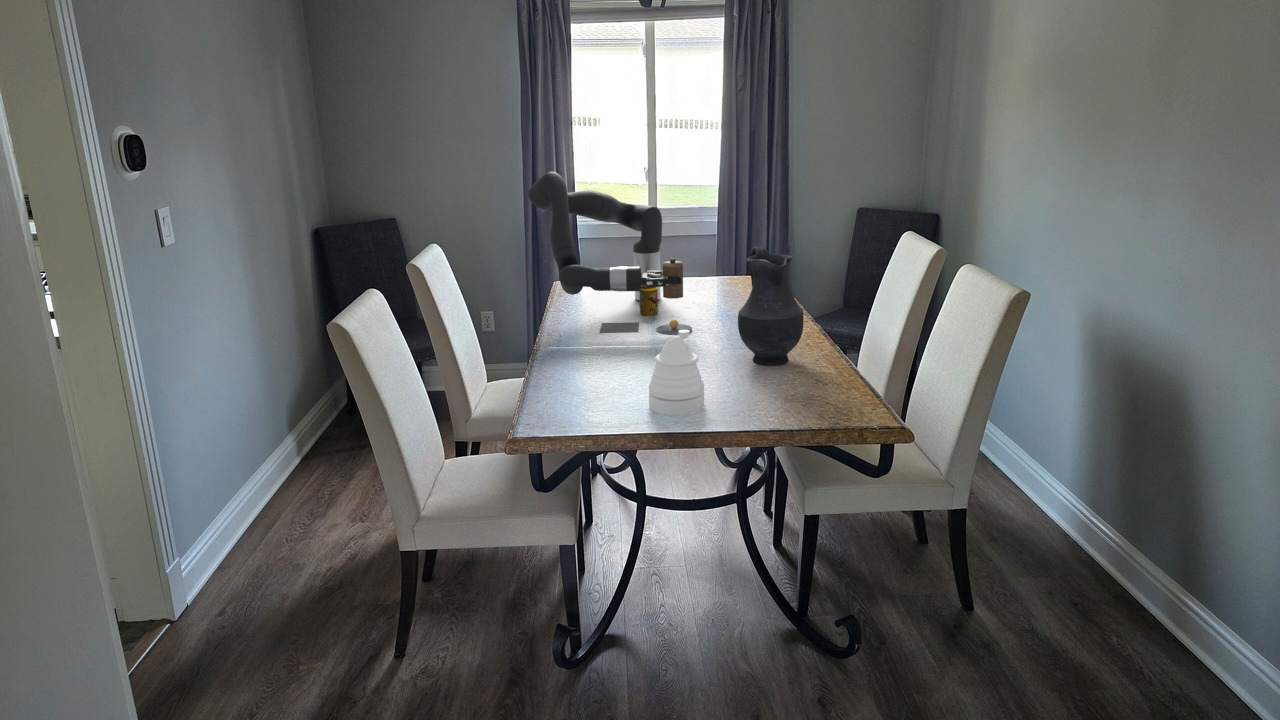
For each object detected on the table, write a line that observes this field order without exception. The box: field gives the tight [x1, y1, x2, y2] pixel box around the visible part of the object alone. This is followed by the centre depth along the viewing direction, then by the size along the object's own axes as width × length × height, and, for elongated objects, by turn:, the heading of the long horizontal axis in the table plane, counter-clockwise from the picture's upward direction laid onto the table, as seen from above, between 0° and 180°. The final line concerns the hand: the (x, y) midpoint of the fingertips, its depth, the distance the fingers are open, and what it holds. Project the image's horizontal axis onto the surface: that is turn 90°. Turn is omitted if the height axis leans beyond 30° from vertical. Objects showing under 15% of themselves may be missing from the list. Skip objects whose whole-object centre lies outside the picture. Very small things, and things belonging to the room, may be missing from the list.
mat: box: [598, 321, 640, 334], centre depth 265 cm, size 12×12×1 cm
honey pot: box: [648, 330, 705, 416], centre depth 195 cm, size 13×13×18 cm
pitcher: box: [737, 245, 805, 367], centre depth 225 cm, size 17×21×30 cm
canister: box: [662, 257, 684, 300], centre depth 255 cm, size 6×6×12 cm
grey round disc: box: [655, 323, 693, 336], centre depth 260 cm, size 11×11×1 cm
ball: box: [668, 319, 680, 329], centre depth 260 cm, size 3×3×3 cm
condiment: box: [639, 284, 659, 317], centre depth 279 cm, size 7×8×12 cm
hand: (680, 278), depth 255 cm, fingers closed on canister, 6 cm apart
